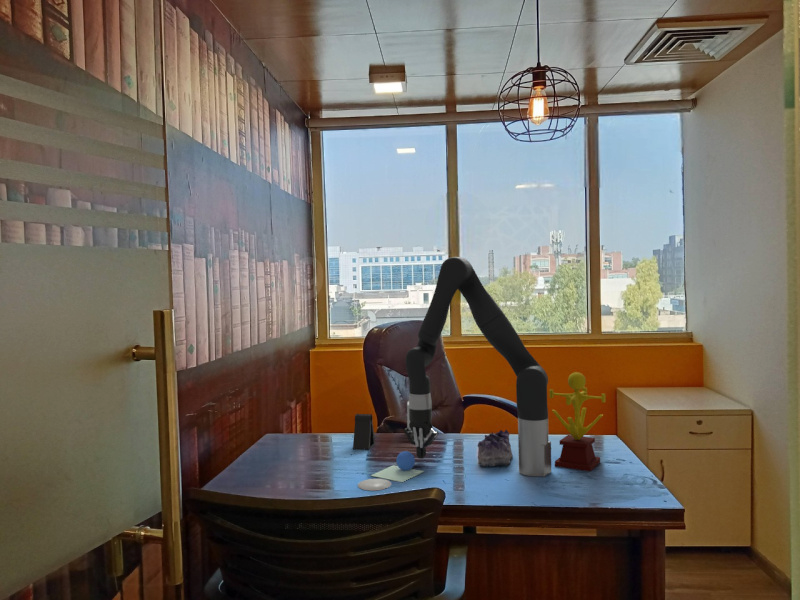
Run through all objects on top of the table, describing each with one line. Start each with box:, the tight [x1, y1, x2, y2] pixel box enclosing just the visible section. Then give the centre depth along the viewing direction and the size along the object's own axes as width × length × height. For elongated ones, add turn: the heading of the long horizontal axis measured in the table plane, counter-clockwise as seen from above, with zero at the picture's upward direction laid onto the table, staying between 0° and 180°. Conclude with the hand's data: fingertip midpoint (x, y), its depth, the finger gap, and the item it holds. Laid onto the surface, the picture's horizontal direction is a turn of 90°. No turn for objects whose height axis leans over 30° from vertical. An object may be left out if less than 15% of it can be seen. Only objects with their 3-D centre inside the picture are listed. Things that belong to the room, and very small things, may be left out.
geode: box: [477, 429, 514, 468], centre depth 200 cm, size 20×12×10 cm, turn 164°
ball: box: [395, 450, 416, 470], centre depth 191 cm, size 6×6×6 cm
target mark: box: [370, 465, 424, 483], centre depth 187 cm, size 12×12×1 cm
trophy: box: [549, 371, 607, 472], centre depth 193 cm, size 14×16×30 cm
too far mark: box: [357, 478, 392, 492], centre depth 177 cm, size 10×10×1 cm
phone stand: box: [352, 413, 376, 451], centre depth 220 cm, size 9×6×12 cm, turn 166°
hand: (421, 457), depth 199 cm, fingers closed
